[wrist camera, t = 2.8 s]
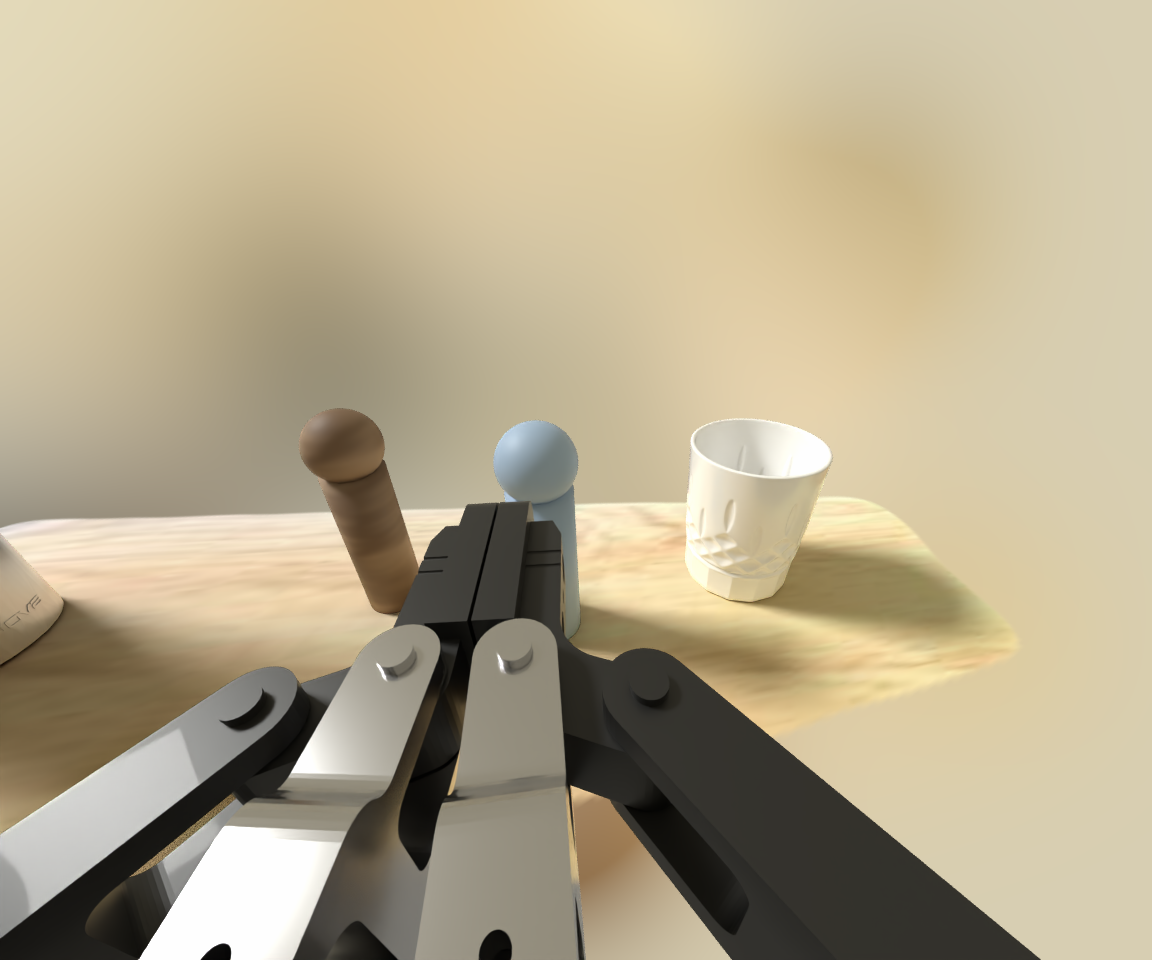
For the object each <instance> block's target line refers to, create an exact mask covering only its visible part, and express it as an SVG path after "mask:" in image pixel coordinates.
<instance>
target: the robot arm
mask: <svg viewBox="0 0 1152 960" xmlns="http://www.w3.org/2000/svg"><path fill="white" fill-rule="evenodd" d="M565 598H566V581H565V569H564V558H563V547H562V536H561V532H560V531H559V529H558V528H557V526H556V525H555V523H554V522H553V520H549V521H534V516H533V508H532V503H531V501H516V502H500V504H499V503H483V504H468V505H467V506H466V508H465V511H464V513H463V516H462V519H461V522H460V525H459V526H446V527H445V528H444V529H443V530H442V531H441V532H440V533H439V534H438V535H437V536H436V537H435V538H433V539H432V540H431V542H430V544H429V547H428V549H427V551H426V554H425V556H424V561H422V563H421V565H420V567H419V570H418V575H416V577H415V579H414V581H413V584H412V586H411V588H410V591H409V593H408V595H407V597H406V600H405V602H404V604H403V607H402V609H401V611H400V614H399V616H398V618H397V621H396V623H395V625H394V628H392V629H390V630H388V631H385V632H384V633H382V634H380V635H379V636H377V637H376V638H374V639H373V640H372V641H371V642H369V643H368V644H367V645H366V646H365V647H364V648H363V650H362V651H361V652H360V654H359V655H358V657H357V658H356V660H355V662H354V663H353V665H352V666H351V667H349V668H346V669H344V670H341V671H338V672H335V673H332V674H329V675H326V676H323V677H320V678H317V679H314V680H310V681H307V682H304V683H301V684H300V683H299V681H298V680H297V678H296V677H295V675H294V674H293V673H292V672H291V671H290V670H288V669H286V668H282V667H266V668H261V669H258V670H254V671H252V672H249V673H247V674H245V675H243V676H240V677H238V678H237V679H235V680H233V681H232V682H230V683H228V684H227V685H225V686H224V687H222V688H221V689H219V690H218V691H216V692H215V693H213V694H212V695H210V696H209V697H207V698H206V699H204V700H203V701H201V702H200V703H198V704H197V705H195V706H194V707H192V708H191V709H189V710H187V711H186V712H184V713H183V714H181V715H180V716H178V717H177V718H175V719H174V720H172V721H171V722H169V723H168V724H166V725H165V726H163V727H162V728H160V729H159V730H157V731H156V732H154V733H153V734H151V735H150V736H148V737H147V738H145V739H144V740H142V741H141V742H139V743H138V744H136V745H135V746H133V747H132V748H130V749H128V750H127V751H125V752H124V753H122V754H121V755H119V756H118V757H116V758H115V759H113V760H112V761H110V762H109V763H107V764H106V765H104V766H103V767H101V768H100V769H98V770H97V771H95V772H94V773H92V774H91V775H89V776H88V777H86V778H85V779H83V780H82V781H80V782H79V783H77V784H76V785H74V786H72V787H71V788H69V789H68V790H66V791H65V792H63V793H62V794H60V795H59V796H57V797H56V798H54V799H53V800H51V801H50V802H48V803H47V804H45V805H44V806H42V807H41V808H39V809H38V810H36V811H35V812H33V813H32V814H30V815H29V816H27V817H26V818H24V819H23V820H21V821H20V822H18V823H17V824H15V825H13V826H12V827H10V828H9V829H7V830H6V831H4V832H3V833H1V834H0V960H586V957H585V946H584V932H583V921H582V909H581V896H580V885H579V875H578V865H577V853H576V839H575V827H574V814H573V801H572V788H571V785H572V786H574V787H577V788H580V789H583V790H585V791H588V792H591V793H594V794H597V795H599V796H602V797H605V798H608V799H610V801H611V803H612V804H613V806H614V808H615V809H616V810H617V812H618V813H619V814H620V816H621V817H622V818H623V820H624V821H625V822H626V823H627V824H628V826H629V827H630V829H631V830H632V831H633V832H634V834H635V835H636V836H637V838H638V839H639V840H640V842H641V843H642V844H643V845H644V847H645V848H646V849H647V851H648V852H649V853H650V854H651V856H652V857H653V858H654V859H655V861H656V862H657V863H658V865H659V866H660V867H661V869H662V870H663V871H664V872H665V874H666V875H667V876H668V877H669V879H670V880H671V881H672V883H673V884H674V885H675V887H676V888H677V889H678V891H679V892H680V893H681V895H682V896H683V897H684V898H685V900H686V901H687V902H688V904H689V905H690V906H691V907H692V909H693V910H694V911H695V913H696V914H697V915H698V916H699V918H700V919H701V920H702V922H703V923H704V924H705V926H706V927H707V928H708V929H709V931H710V932H711V933H712V935H713V936H714V937H715V939H716V940H717V941H718V942H719V944H720V945H721V946H722V948H723V949H724V950H725V951H726V953H727V954H728V955H729V956H730V958H731V959H732V960H1040V959H1039V958H1038V957H1037V956H1036V955H1035V954H1033V953H1032V952H1031V951H1030V950H1029V949H1027V948H1026V947H1025V946H1024V945H1022V944H1021V943H1020V942H1019V941H1018V940H1016V939H1015V938H1014V937H1013V936H1011V935H1010V934H1009V933H1008V932H1007V931H1005V930H1004V929H1003V928H1002V927H1001V926H999V925H998V924H997V923H996V922H995V921H993V920H992V919H991V918H990V917H988V916H987V915H986V914H985V913H984V912H982V911H981V910H980V909H979V908H978V907H976V906H975V905H974V904H973V903H972V902H970V901H969V900H968V899H967V898H966V897H964V896H963V895H962V894H961V893H960V892H958V891H957V890H956V889H955V888H953V887H952V886H951V885H950V884H949V883H947V882H946V881H945V880H944V879H942V878H941V877H940V876H939V875H938V874H936V873H935V872H934V871H933V870H932V869H930V868H929V867H928V866H927V865H926V864H924V863H923V862H922V861H921V860H920V859H918V858H917V857H916V856H915V855H913V854H912V853H911V852H910V851H909V850H907V849H906V848H905V847H904V846H903V845H901V844H900V843H899V842H898V841H897V840H895V839H894V838H893V837H891V836H890V835H889V834H888V833H887V832H886V831H884V830H883V829H882V828H881V827H880V826H878V825H877V824H876V823H875V822H873V821H872V820H871V819H870V818H869V817H867V816H866V815H865V814H864V813H862V812H861V811H860V810H859V809H858V808H856V807H855V806H854V805H853V804H852V803H850V802H849V801H848V800H847V799H846V798H844V797H843V796H842V795H841V794H840V793H838V792H837V791H836V790H835V789H834V788H832V787H831V786H830V785H828V784H827V783H826V782H825V781H824V780H823V779H821V778H820V777H819V776H818V775H816V774H815V773H814V772H813V771H812V770H810V769H809V768H808V767H807V766H806V765H804V764H803V763H802V762H801V761H800V760H798V759H797V758H796V757H795V756H794V755H792V754H791V753H790V752H789V751H787V750H786V749H785V748H784V747H783V746H781V745H780V744H779V743H778V742H777V741H775V740H774V739H773V738H772V737H771V736H769V735H768V734H767V733H766V732H764V731H763V730H762V729H761V728H760V727H758V726H757V725H756V724H755V723H754V722H752V721H751V720H750V719H749V718H747V717H746V716H745V715H744V714H743V713H741V712H740V711H739V710H738V709H737V708H735V707H734V706H733V705H732V704H731V703H729V702H728V701H727V700H726V699H724V698H723V697H722V696H721V695H720V694H718V693H717V692H716V691H715V690H714V689H712V688H711V687H710V686H709V685H708V684H706V683H705V682H704V681H703V680H701V679H700V678H699V677H698V676H697V675H695V674H694V673H693V672H692V671H691V670H689V669H688V668H687V667H686V666H684V665H683V664H682V663H681V662H680V661H678V660H677V659H676V658H674V657H673V656H671V655H669V654H667V653H665V652H662V651H659V650H655V649H648V648H640V649H634V650H630V651H627V652H625V653H623V654H621V655H619V656H618V657H616V658H615V659H614V660H613V661H610V660H607V659H603V658H599V657H595V656H592V655H589V654H586V653H584V652H582V651H580V650H579V649H577V648H576V647H574V646H573V645H572V644H571V643H570V642H569V641H568V639H567V638H566V614H565V613H566V600H565ZM63 604H64V602H63V600H62V598H61V597H60V596H59V594H58V593H57V592H56V591H55V590H54V589H53V588H52V587H51V586H50V585H49V584H48V583H47V582H46V581H45V580H44V579H43V578H42V577H41V576H40V575H39V574H38V573H37V572H36V571H35V570H34V569H33V568H32V566H31V565H30V564H29V563H28V562H27V561H26V560H25V559H24V558H23V557H22V556H21V555H20V554H19V552H18V551H17V550H16V549H15V548H14V547H13V546H12V545H11V544H10V543H9V542H8V541H7V540H6V539H5V538H4V537H3V536H2V535H1V534H0V665H1V664H2V663H4V662H5V661H7V660H9V659H10V658H12V657H13V656H15V655H16V654H18V653H19V652H21V651H22V650H23V649H25V648H26V647H28V646H29V645H30V644H32V643H33V642H34V641H35V640H37V639H38V638H39V637H40V636H41V635H42V634H43V633H45V632H46V631H47V630H48V629H49V628H50V627H51V625H52V624H53V623H54V622H55V621H56V620H57V619H58V617H59V615H60V613H61V612H62V610H63ZM230 794H232V795H233V796H234V797H235V798H236V799H235V800H234V801H233V802H231V803H230V804H229V805H228V806H227V807H225V808H224V809H223V810H222V811H221V812H219V813H218V814H217V815H216V816H215V817H213V818H212V819H211V820H210V821H209V822H207V823H206V824H205V825H204V826H203V827H201V828H200V829H199V830H198V831H197V832H195V833H194V834H193V835H192V836H191V837H189V838H188V839H187V840H186V841H184V842H183V843H182V844H181V845H180V846H178V847H177V848H176V849H175V850H174V851H172V852H171V853H170V854H169V855H168V856H166V857H165V858H164V859H163V860H162V861H160V862H159V863H158V864H156V865H155V866H153V867H152V868H150V869H148V870H147V871H145V872H143V873H141V874H138V875H135V876H132V877H130V876H131V875H132V874H133V873H135V872H136V871H137V870H138V869H139V868H141V867H142V866H143V865H144V864H146V863H147V862H148V861H149V860H150V859H152V858H153V857H154V856H155V855H157V854H158V853H159V852H160V851H161V850H163V849H164V848H165V847H166V846H168V845H169V844H170V843H171V842H173V841H174V840H175V839H176V838H177V837H179V836H180V835H181V834H182V833H184V832H185V831H186V830H187V829H188V828H190V827H191V826H192V825H193V824H195V823H196V822H197V821H198V820H199V819H201V818H202V817H203V816H204V815H206V814H207V813H208V812H209V811H210V810H212V809H213V808H214V807H215V806H217V805H218V804H219V803H220V802H221V801H223V800H224V799H225V798H226V797H228V796H229V795H230Z"/></svg>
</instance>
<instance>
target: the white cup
mask: <svg viewBox="0 0 1152 960" xmlns="http://www.w3.org/2000/svg"><path fill="white" fill-rule="evenodd" d="M832 459H833V455H832V452H831V450H830V448H829V447H828V445H826V443H825V442H823V441H822V440H821V439H819V438H818V437H816V436H815V435H813V434H811V433H809V432H807V431H804V430H802V429H800V428H797V427H794V426H791V425H787V424H783V423H779V422H774V421H768V420H759V419H728V420H720V421H715V422H711V423H708V424H706V425H704V426H702V427H700V428H698V429H697V430H696V431H695V432H694V433H693V435H692V437H691V445H690V462H689V477H688V492H687V516H686V531H687V542H686V555H685V562H686V565H687V567H688V570H689V573H690V575H691V577H692V578H693V579H694V580H695V581H697V582H698V583H699V584H700V585H701V586H702V587H703V588H704V589H705V590H707V591H709V592H711V593H714V594H716V595H718V596H721V597H723V598H726V599H728V600H737V601H747V602H754V601H757V600H761V599H765V598H768V597H772V596H773V595H774V594H775V593H776V592H777V591H778V590H779V588H780V587H781V586H782V585H783V584H784V581H785V579H786V576H787V573H788V570H789V567H790V565H791V562H792V560H793V558H794V557H795V555H796V553H797V551H798V549H799V546H800V543H801V540H802V538H803V536H804V533H805V531H806V529H807V526H808V524H809V521H810V519H811V516H812V513H813V510H814V508H815V505H816V502H817V500H818V497H819V494H820V492H821V489H822V486H823V484H824V481H825V478H826V476H827V473H828V471H829V468H830V465H831V463H832Z"/></svg>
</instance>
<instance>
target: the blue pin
mask: <svg viewBox="0 0 1152 960" xmlns="http://www.w3.org/2000/svg"><path fill="white" fill-rule="evenodd" d="M577 470H578V455H577V451H576V448H575V446H574V444H573V442H572V440H571V439H570V437H569V436H568V435H567V434H566V433H565V432H564V431H563V430H562V429H560V428H559V427H557V426H556V425H554V424H551V423H549V422H545V421H527V422H523V423H520V424H518V425H516V426H514V427H512V428H511V429H510V430H509V431H508V432H506V433H505V434H504V435H503V437H502V438H501V439H500V441H499V443H498V445H497V447H496V450H495V454H494V471H495V475H496V477H497V480H498V482H499V484H500V486H501V487H502V489H503V490H504V491H505V492H504V495H505V502H516V501H531V503H532V508H533V516H534V521H549V520H553V522H554V523H555V525H556V526H557V528H558V529H559V531H560V532H561V536H562V547H563V558H564V569H565V581H566V598H565V600H566V613H565V614H566V638H567V639H569V638H571V637H572V636H573V635H574V634H575V633H576V631H577V630H578V628H579V626H580V600H579V581H578V562H577V543H576V524H575V505H574V487H573V482H574V480H575V477H576V475H577Z"/></svg>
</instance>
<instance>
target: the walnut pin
mask: <svg viewBox="0 0 1152 960" xmlns="http://www.w3.org/2000/svg"><path fill="white" fill-rule="evenodd" d="M384 450H385V446H384V439H383V436H382V433H381V431H380V430H379V428H378V427H377V425H376V424H375V423H374V422H373V421H372V420H371V419H370V418H368V417H367V416H365V415H364V414H362V413H360V412H357V411H354V410H350V409H343V408H337V409H330V410H326V411H323V412H321V413H319V414H317V415H315V416H314V417H312V418H311V419H310V420H309V421H308V422H307V423H306V425H305V426H304V428H303V430H302V431H301V434H300V438H299V451H300V455H301V458H302V460H303V462H304V463H305V465H306V466H307V467H308V469H309V470H310V471H311V472H312V473H314V474H315V475H317V476H318V481H319V484H320V486H321V488H322V491H323V493H324V495H325V498H326V500H327V503H328V505H329V507H330V509H331V512H332V514H333V517H334V519H335V521H336V524H337V526H338V528H339V531H340V533H341V535H342V538H343V540H344V543H345V545H346V547H347V550H348V552H349V554H350V557H351V559H352V561H353V564H354V566H355V568H356V571H357V573H358V575H359V578H360V580H361V583H362V585H363V587H364V590H365V592H366V594H367V597H368V599H369V601H370V604H371V606H372V608H373V609H374V610H375V611H377V612H380V613H385V614H389V613H396V612H399V611H401V609H402V607H403V604H404V602H405V600H406V597H407V595H408V593H409V591H410V588H411V586H412V584H413V581H414V579H415V577H416V575H418V570H419V567H418V564H417V561H416V557H415V554H414V551H413V548H412V545H411V542H410V539H409V536H408V532H407V529H406V526H405V523H404V520H403V517H402V514H401V510H400V507H399V504H398V501H397V498H396V495H395V492H394V489H393V485H392V482H391V479H390V476H389V473H388V470H387V467H386V464H385V461H384V460H383V456H384Z"/></svg>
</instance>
